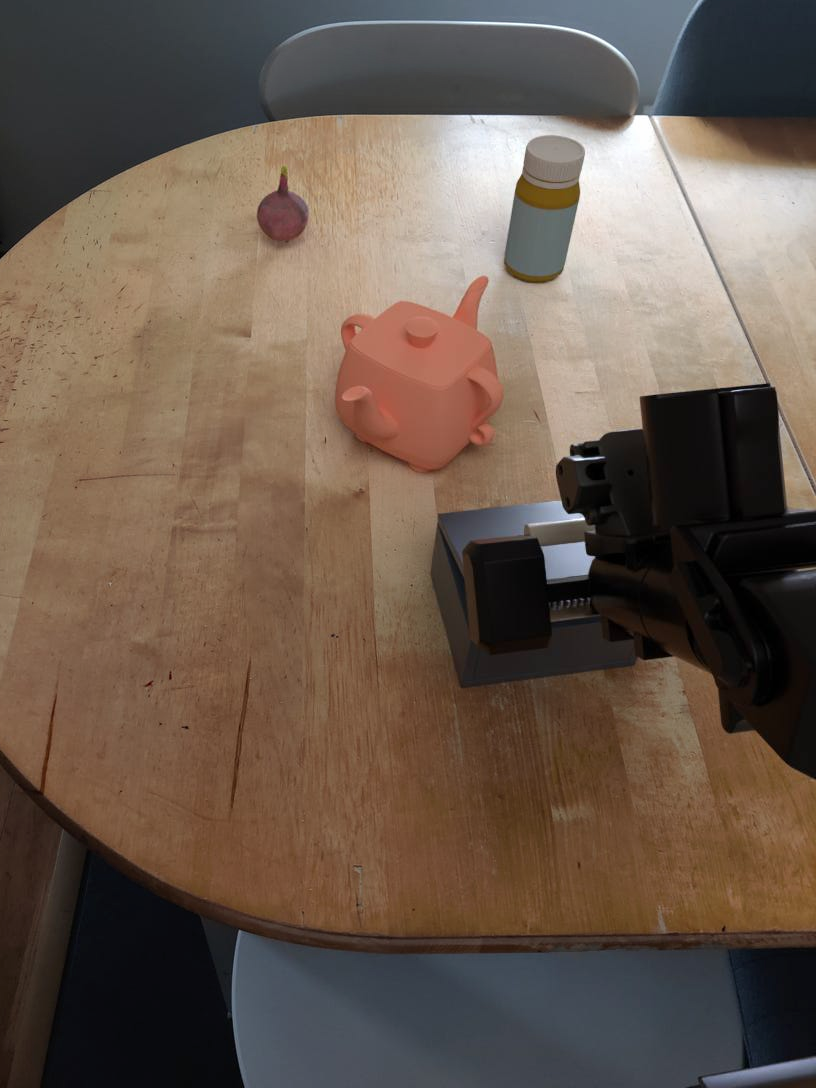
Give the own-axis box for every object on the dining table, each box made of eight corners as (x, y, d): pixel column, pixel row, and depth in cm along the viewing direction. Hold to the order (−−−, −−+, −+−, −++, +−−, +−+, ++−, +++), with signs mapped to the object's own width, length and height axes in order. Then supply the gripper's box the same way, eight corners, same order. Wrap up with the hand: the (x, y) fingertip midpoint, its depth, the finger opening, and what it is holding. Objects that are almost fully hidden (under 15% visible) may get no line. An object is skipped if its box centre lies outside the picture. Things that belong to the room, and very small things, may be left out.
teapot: (341, 496, 79) (342, 392, 70) (329, 375, 91) (328, 272, 82) (506, 487, 80) (528, 383, 71) (473, 368, 92) (489, 265, 83)
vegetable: (308, 257, 106) (306, 181, 99) (256, 257, 106) (251, 181, 99) (310, 230, 110) (308, 155, 103) (260, 229, 110) (255, 154, 103)
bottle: (501, 282, 102) (521, 161, 92) (504, 248, 107) (523, 130, 96) (563, 288, 102) (590, 167, 91) (562, 254, 106) (588, 135, 96)
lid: (675, 585, 60) (684, 524, 57) (478, 610, 58) (480, 548, 56) (606, 503, 70) (611, 449, 68) (437, 522, 68) (437, 467, 66)
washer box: (634, 665, 67) (658, 615, 63) (460, 688, 66) (471, 639, 61) (587, 555, 75) (605, 503, 70) (430, 573, 73) (437, 521, 69)
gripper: (857, 417, 44) (697, 425, 59) (492, 456, 42) (425, 453, 58) (878, 640, 44) (713, 590, 60) (515, 688, 42) (442, 623, 58)
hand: (576, 560), depth 59 cm, fingers open, 9 cm apart
